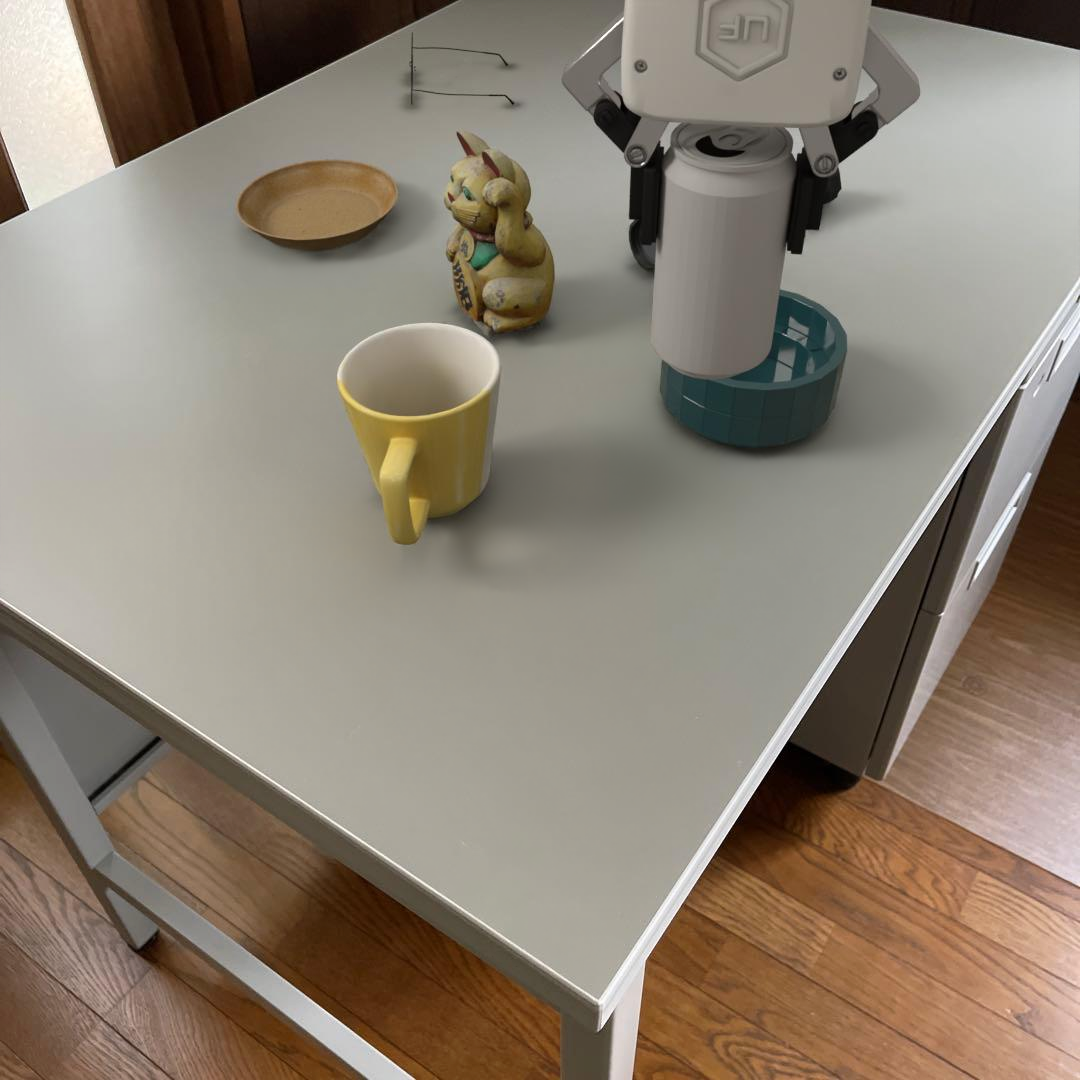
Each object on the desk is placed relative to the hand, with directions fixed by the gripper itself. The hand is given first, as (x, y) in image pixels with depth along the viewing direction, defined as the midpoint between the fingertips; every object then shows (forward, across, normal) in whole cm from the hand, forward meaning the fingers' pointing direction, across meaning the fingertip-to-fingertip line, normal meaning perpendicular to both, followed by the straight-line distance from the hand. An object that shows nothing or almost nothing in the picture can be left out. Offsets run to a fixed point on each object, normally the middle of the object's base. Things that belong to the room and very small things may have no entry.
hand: (722, 233), depth 54 cm
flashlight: (+24, +2, +41) cm, 48 cm away
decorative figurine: (+23, -17, +27) cm, 39 cm away
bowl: (+23, +3, +17) cm, 29 cm away
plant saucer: (+23, -36, +39) cm, 58 cm away
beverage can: (+7, 0, 0) cm, 7 cm away
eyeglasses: (+23, -30, +70) cm, 80 cm away
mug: (+24, -18, +3) cm, 30 cm away
